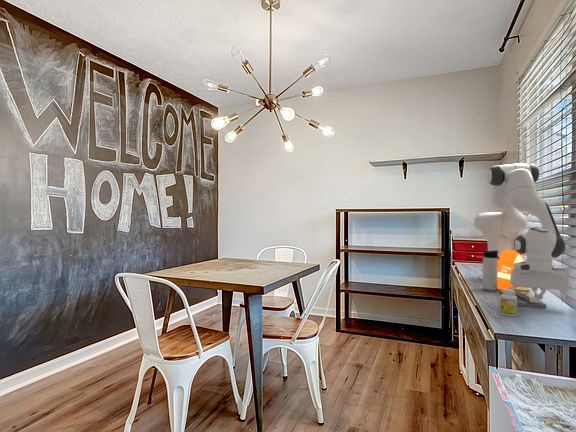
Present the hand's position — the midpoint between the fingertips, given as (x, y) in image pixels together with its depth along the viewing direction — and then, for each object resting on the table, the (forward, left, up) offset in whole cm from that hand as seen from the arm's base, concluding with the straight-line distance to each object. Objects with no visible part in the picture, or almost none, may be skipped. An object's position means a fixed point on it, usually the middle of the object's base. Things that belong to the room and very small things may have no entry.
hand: (538, 298), depth 142 cm
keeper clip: (-6, -6, -2) cm, 8 cm away
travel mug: (-24, -14, -3) cm, 27 cm away
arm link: (-7, -4, -1) cm, 8 cm away
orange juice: (-29, -4, -3) cm, 29 cm away
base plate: (-8, -4, -3) cm, 10 cm away
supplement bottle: (+18, -15, -3) cm, 24 cm away
